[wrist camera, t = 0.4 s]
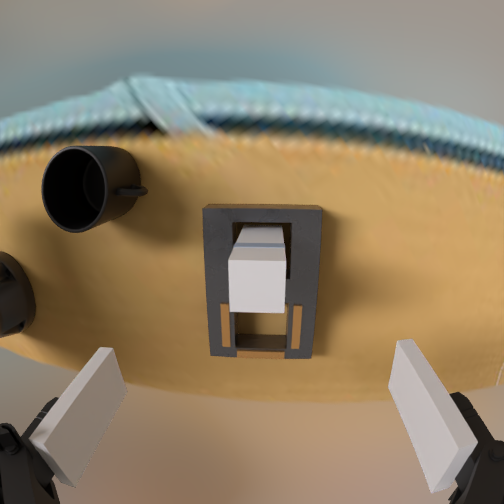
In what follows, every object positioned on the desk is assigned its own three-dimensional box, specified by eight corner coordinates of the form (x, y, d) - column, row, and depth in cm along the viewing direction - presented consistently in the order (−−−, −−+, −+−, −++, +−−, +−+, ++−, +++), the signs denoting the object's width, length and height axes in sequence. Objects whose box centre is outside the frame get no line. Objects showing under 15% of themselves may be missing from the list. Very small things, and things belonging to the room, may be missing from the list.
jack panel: (215, 341, 43) (210, 356, 40) (208, 204, 38) (201, 208, 34) (308, 344, 42) (311, 359, 39) (317, 205, 37) (322, 210, 34)
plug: (244, 260, 40) (229, 312, 26) (243, 224, 38) (227, 259, 25) (281, 261, 39) (284, 313, 26) (282, 224, 38) (286, 260, 25)
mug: (156, 225, 39) (126, 243, 31) (79, 212, 39) (40, 226, 31) (165, 150, 36) (135, 149, 28) (85, 144, 37) (44, 144, 28)
